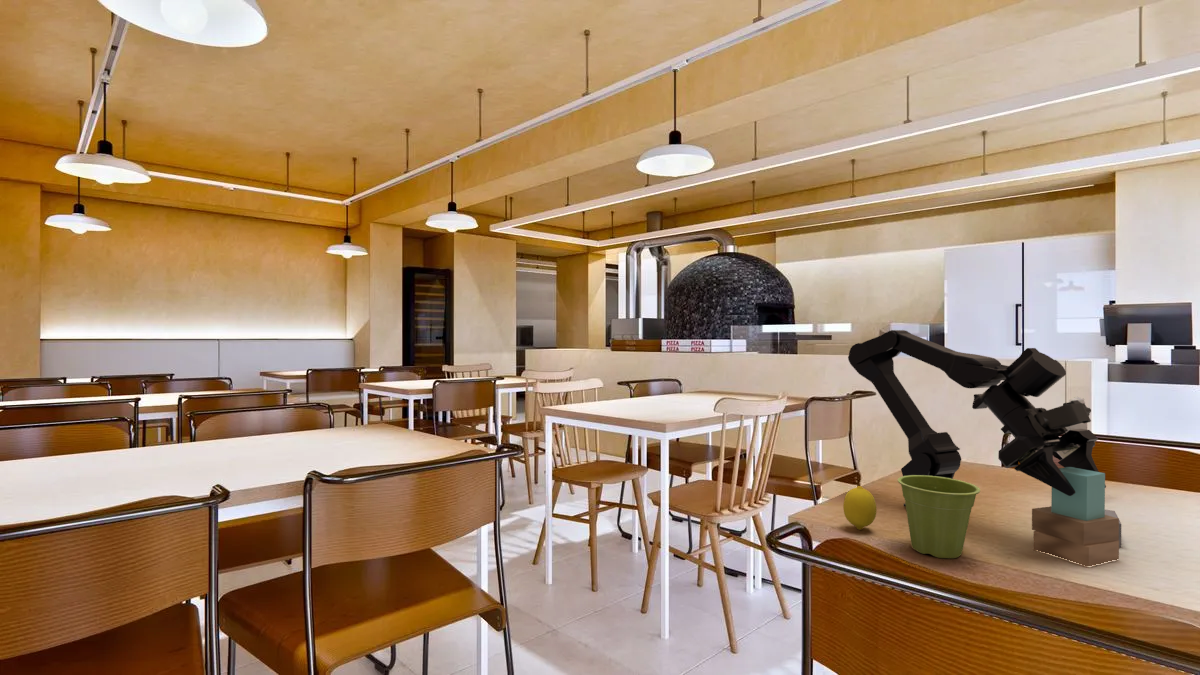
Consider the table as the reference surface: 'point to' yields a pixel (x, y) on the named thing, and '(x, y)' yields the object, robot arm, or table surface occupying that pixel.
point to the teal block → (1081, 495)
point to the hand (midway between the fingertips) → (1088, 491)
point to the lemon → (859, 507)
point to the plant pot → (938, 513)
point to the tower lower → (1076, 549)
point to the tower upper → (1075, 527)
